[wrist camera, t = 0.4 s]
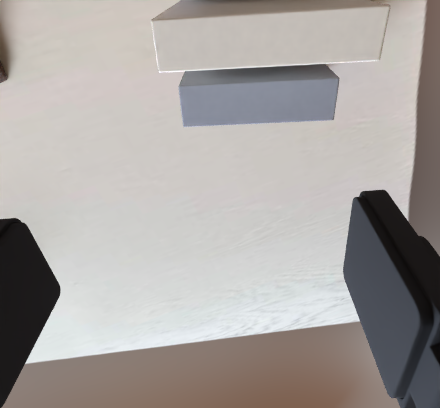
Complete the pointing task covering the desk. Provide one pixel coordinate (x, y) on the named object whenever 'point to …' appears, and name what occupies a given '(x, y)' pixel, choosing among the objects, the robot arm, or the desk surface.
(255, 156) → the desk surface
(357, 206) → the robot arm
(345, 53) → the thin book
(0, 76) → the letter rack
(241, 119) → the grey books
